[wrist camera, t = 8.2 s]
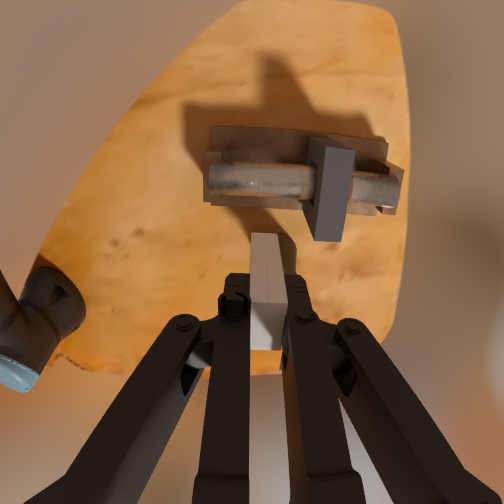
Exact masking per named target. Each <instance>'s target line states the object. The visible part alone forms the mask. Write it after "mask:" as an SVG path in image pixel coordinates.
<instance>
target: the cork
mask: <svg viewBox="0 0 504 504" xmlns="http://www.w3.org/2000/svg"><path fill="white" fill-rule="evenodd" d="M275 234H276V233H275ZM277 236H278V242H279V248H280V254H281V261H282V267H283V273H284V274H289V275H297V274H296V253H297V249H296V245H295V243H294V241H293V240H292V239H291V238H290V237H288V236H287V235H284V234H277Z"/></svg>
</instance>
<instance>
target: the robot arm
mask: <svg viewBox="0 0 504 504" xmlns="http://www.w3.org/2000/svg"><path fill="white" fill-rule="evenodd" d="M85 316H86V308H85V304H84V301H83V298H82V296H81V294H80V293H79V291H78V289H77V288H76V287H75V286H74V284H73V283H72V282H71V281H70V280H69V279H68V278H67V277H66V276H64V275H63V274H61V273H60V272H58V271H56V270H54V269H52V268H48V267H40V268H37V269H36V270H35V271H34V272H33V273H32V274H31V275H30V276H29V277H28V278H27V280H26V283H25V287H24V289H23V291H22V293H21V296H20V298H19V300H18V301H17V299H16V297H15V296H14V294H13V292H12V290H11V289H10V287H9V285H8V284H7V281H6V280H5V278H4V276H3V274H2V272H1V270H0V383H2V384H3V385H5V386H7V387H8V388H10V389H12V390H15V391H18V392H23V393H24V392H28V391H29V390H31V388H32V387H33V386H34V384H35V383H36V381H37V380H38V379H39V378H40V374H41V373H42V371H43V369H44V367H45V366H46V364H47V362H48V360H49V359H50V357H51V355H52V354H53V352H54V350H55V349H56V347H57V345H58V344H59V342H60V341H61V340H62V339H64V338H65V337H67V336H68V335H70V334H71V333H72V332H74V331H75V330H77V329H78V328H79V327H80V325H81V324H82V322H83V321H84V319H85ZM281 346H282V357H281V363H280V369H279V370H282V376H283V389H284V402H285V413H286V414H285V416H286V429H287V444H288V460H289V476H290V502H289V504H366V500H365V494H364V488H363V483H362V479H361V476H360V474H359V473H358V472H357V471H355V470H354V469H353V468H352V465H351V460H350V454H349V449H348V444H347V439H346V434H345V429H344V423H343V419H342V414H341V409H340V404H339V400H338V397H339V399H340V401H341V403H342V405H343V407H344V409H345V411H346V413H347V415H348V416H349V418H350V420H351V422H352V424H353V426H354V428H355V430H356V432H357V433H358V436H359V437H360V439H361V441H362V443H363V445H364V447H365V449H366V451H367V453H368V455H369V457H370V459H371V461H372V463H373V464H374V466H375V468H376V470H377V472H378V474H379V476H380V478H381V480H382V482H383V484H384V486H385V488H386V490H387V492H388V494H389V496H390V497H391V499H392V501H393V503H394V504H502V501H501V498H500V496H499V495H498V494H497V493H495V492H494V491H493V490H492V489H490V488H489V487H488V486H486V485H485V484H484V483H482V482H481V481H480V480H478V479H477V478H476V477H474V476H473V475H472V474H471V473H469V472H468V471H467V470H465V469H464V467H463V466H462V464H461V462H460V461H459V459H458V458H457V456H456V454H455V453H454V451H453V450H452V448H451V447H450V445H449V443H448V442H447V441H446V439H445V437H444V436H443V434H442V433H441V431H440V430H439V428H438V427H437V425H436V424H435V422H434V421H433V419H432V418H431V416H430V415H429V413H428V412H427V410H426V409H425V407H424V406H423V405H422V403H421V402H420V400H419V399H418V397H417V396H416V394H415V393H414V392H413V390H412V389H411V387H410V386H409V384H408V383H407V382H406V380H405V379H404V378H403V376H402V375H401V373H400V372H399V370H398V369H397V368H396V366H395V365H394V364H393V362H392V361H391V360H390V358H389V357H388V355H387V354H386V353H385V351H384V350H383V348H382V347H381V346H380V344H379V343H378V342H377V340H376V339H375V338H374V336H373V335H372V334H371V332H370V331H369V330H368V328H367V327H366V326H365V325H364V324H363V323H362V322H361V321H359V320H357V319H353V318H345V319H342V320H340V321H339V322H338V324H337V325H335V324H330V323H327V322H324V321H322V320H320V319H319V317H318V315H317V313H315V312H314V311H313V309H312V305H311V301H310V297H309V293H308V289H307V285H306V281H305V280H304V279H303V278H302V277H301V276H300V275H289V274H284V273H283V267H282V261H281V254H280V248H279V242H278V236H277V234H274V233H252V232H251V252H250V273H249V274H246V273H230V274H229V275H228V276H227V277H226V279H225V286H224V292H223V293H222V294H221V295H220V296H219V298H218V315H217V316H216V317H214V318H212V319H209V320H205V321H199V319H198V318H197V317H195V316H193V315H190V314H181V315H177V316H175V317H173V318H172V319H171V320H170V321H169V322H168V323H167V325H166V326H165V327H164V329H163V330H162V332H161V333H160V334H159V336H158V337H157V339H156V340H155V342H154V343H153V344H152V346H151V347H150V349H149V350H148V351H147V353H146V354H145V356H144V357H143V359H142V360H141V361H140V363H139V364H138V366H137V367H136V369H135V370H134V372H133V373H132V374H131V376H130V377H129V379H128V380H127V382H126V383H125V385H124V386H123V388H122V389H121V391H120V392H119V393H118V395H117V396H116V398H115V399H114V401H113V402H112V404H111V405H110V407H109V408H108V410H107V411H106V413H105V414H104V416H103V417H102V419H101V420H100V421H99V423H98V425H97V426H96V428H95V429H94V431H93V432H92V434H91V435H90V437H89V438H88V440H87V441H86V443H85V444H84V446H83V447H82V449H81V450H80V452H79V453H78V455H77V457H76V458H75V460H74V461H73V463H72V464H71V466H70V467H69V469H68V471H67V472H66V474H65V475H64V476H62V477H61V478H60V479H58V480H57V481H55V482H54V483H52V484H51V485H50V486H48V487H47V488H45V489H44V490H42V491H41V492H40V493H38V494H36V495H35V496H33V497H32V498H30V499H29V500H27V501H26V502H25V503H24V504H137V502H138V500H139V498H140V496H141V494H142V492H143V490H144V488H145V486H146V484H147V482H148V480H149V479H150V477H151V474H152V473H153V471H154V468H155V467H156V464H157V463H158V461H159V459H160V457H161V455H162V453H163V451H164V449H165V447H166V445H167V443H168V441H169V439H170V437H171V435H172V433H173V431H174V429H175V427H176V425H177V423H178V421H179V419H180V417H181V415H182V413H183V411H184V409H185V407H186V405H187V403H188V401H189V399H190V397H191V395H192V393H193V391H194V389H195V387H196V385H197V382H198V381H199V379H200V377H201V375H202V373H203V371H204V368H205V367H210V366H211V371H210V379H209V387H208V394H207V402H206V410H205V418H204V426H203V434H202V443H201V451H200V460H199V469H198V474H197V475H196V477H195V481H194V487H193V496H192V504H249V407H250V350H281Z"/></svg>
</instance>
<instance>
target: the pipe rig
mask: <svg viewBox="0 0 504 504" xmlns="http://www.w3.org/2000/svg"><path fill="white" fill-rule="evenodd" d="M309 136H315V137H324V138H332V139H334V140H336V141H338V142H340V143H342V144H344V145H346V146H348V147H349V148H351V149H353V150H355V157H354V164H353V172H352V179H351V185H350V192H349V198H348V205H347V211H346V214H356V215H367V216H376V215H377V210H379V211H380V212H381V213H382V214H389V215H395V214H396V210H397V205H398V200H399V197H400V190H401V185H402V179H403V174H404V170H403V169H401V168H399V167H398V166H396V165H394V164H392V163H390V162H388V161H386V159H387V152H388V145H389V143H386V142H381V141H375V140H369V139H363V138H357V137H350V136H344V135H336V134H328V133H320V132H311V131H301V130H290V129H276V128H260V127H235V126H212V127H211V146H210V147H208V148H207V149H206V150H205V151H204V152H203V202H211V206H236V207H257V208H275V209H291V210H302V203H303V199H305V200H314V199H315V191H316V182H317V173H318V166H310V165H307V154H308V143H309Z"/></svg>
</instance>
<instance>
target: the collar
mask: <svg viewBox="0 0 504 504" xmlns="http://www.w3.org/2000/svg"><path fill="white" fill-rule="evenodd" d="M354 157H355V150H353V149H351V148H349V147H348V146H346V145H344V144H342V143H340V142H338V141H336V140H334V139H332V138H324V137H315V136H309V143H308V154H307V165H310V166H318V173H317V182H316V191H315V199H314V200H305V199H303V203H302V210H303V213H304V215H305V218H306V220H307V223H308V226H309V228H310V231H311V234H312V236H313V239H314V241H327V242H341V239H342V233H343V228H344V222H345V217H346V211H347V205H348V198H349V192H350V185H351V179H352V172H353V164H354Z"/></svg>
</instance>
